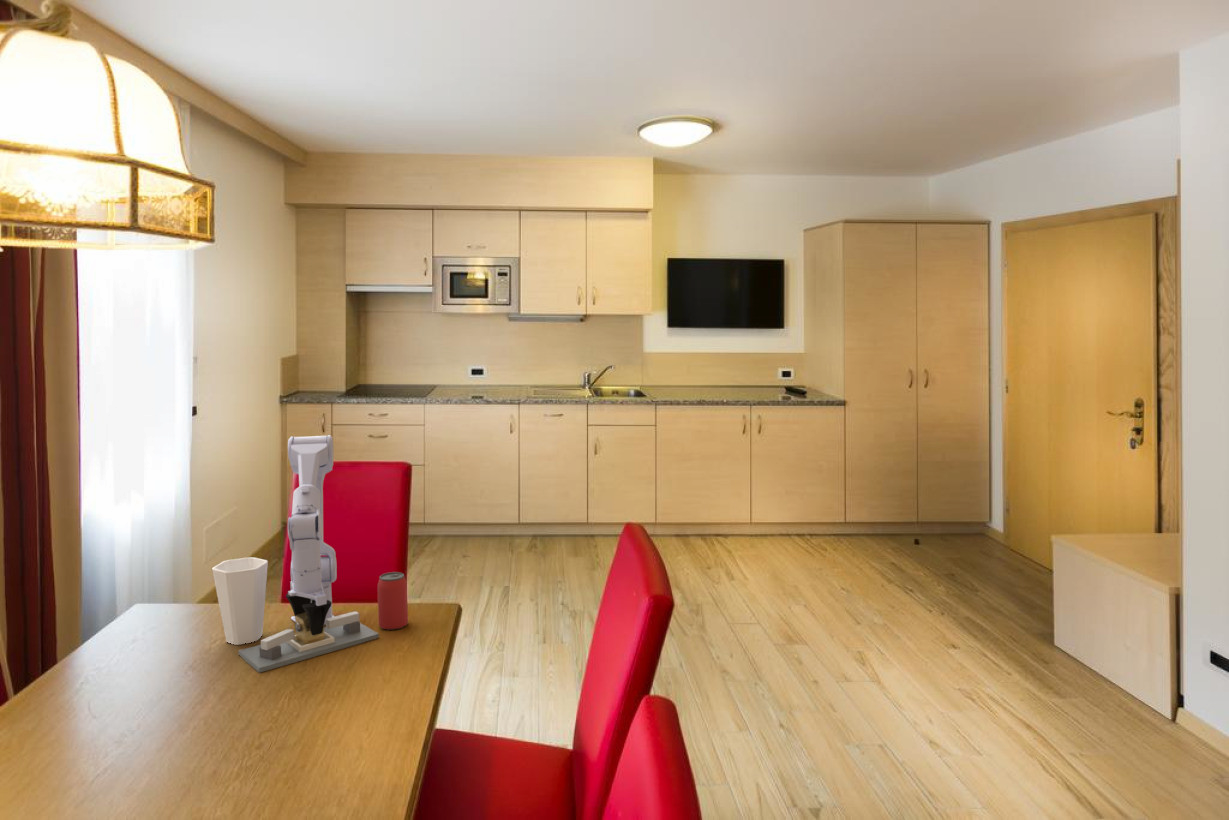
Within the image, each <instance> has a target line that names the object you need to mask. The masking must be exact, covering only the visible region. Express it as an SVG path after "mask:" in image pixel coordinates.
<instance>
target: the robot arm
mask: <svg viewBox="0 0 1229 820" xmlns="http://www.w3.org/2000/svg"><path fill="white" fill-rule="evenodd" d="M287 440H288V441H287V455H288V461H289V465H290V468H291V470H292V473H294V474H297V475H298V485H299V486H298V487H297V488H295V489H294V491H293V492H292V493H293V494H292V505H291V517H290V516H289V517H288V520H287V535H288V539H289V548H290V550H291V561H290V580H291V581H289V582H290V590H288V591H287V594H286V595H285V598H286V599H287V601H288V602H289V604H290V606H291V609H292V612H293V615H294V616H291V617H290V620H292V621H293V622H295V623H296V621H295V615H298V614H302V613H306V614H307V617H308V621H309V626H310V631H311V634H312V635H317V634H321V633H322V632H323V627H324V628H325V626H326V619H327V618H331V617H335V615H334V614H333V597H332V583H335V581H336V580H337V577H338V575H337V572H338V571H337V570H338V569H337V568H338V567H337V557H336V554H337V553H336V551H335V548H333V547H332V546H331V545H329V544H328V543H326V542H324V489H323V488H324V480H325V477H326V475H327V474H329V473H330V472H331V471H333V466H334V439H333V436H332V435H331V434H328V435H312V436H309V435H308V436H292V435H291V436H290V438H288V439H287Z"/></svg>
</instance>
